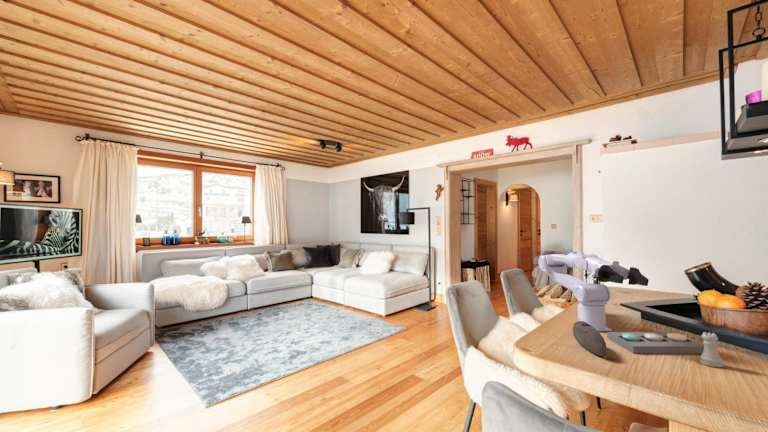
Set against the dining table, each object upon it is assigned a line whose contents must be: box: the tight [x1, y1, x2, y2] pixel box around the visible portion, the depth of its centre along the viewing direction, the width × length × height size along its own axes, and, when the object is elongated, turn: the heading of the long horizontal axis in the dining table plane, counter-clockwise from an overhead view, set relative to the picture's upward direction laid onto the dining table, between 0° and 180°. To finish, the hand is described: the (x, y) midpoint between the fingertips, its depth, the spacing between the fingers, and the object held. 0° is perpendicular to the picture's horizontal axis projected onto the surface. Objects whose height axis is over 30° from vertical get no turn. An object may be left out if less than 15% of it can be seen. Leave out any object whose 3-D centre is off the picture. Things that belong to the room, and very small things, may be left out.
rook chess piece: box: [699, 331, 725, 368], centre depth 85 cm, size 4×4×8 cm
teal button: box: [622, 333, 640, 342], centre depth 100 cm, size 4×4×1 cm
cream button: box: [667, 332, 687, 342], centre depth 98 cm, size 4×4×1 cm
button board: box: [606, 331, 704, 354], centre depth 99 cm, size 13×20×2 cm, turn 84°
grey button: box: [644, 333, 663, 342], centre depth 99 cm, size 4×4×1 cm
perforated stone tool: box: [572, 320, 607, 357], centre depth 97 cm, size 15×5×7 cm, turn 170°
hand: (634, 281), depth 97 cm, fingers open, 7 cm apart
